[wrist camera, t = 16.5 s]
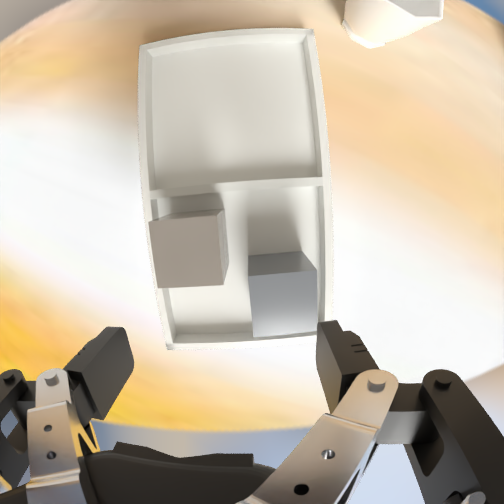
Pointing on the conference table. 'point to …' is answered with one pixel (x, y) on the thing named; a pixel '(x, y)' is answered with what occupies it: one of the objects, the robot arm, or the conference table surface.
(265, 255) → the matte grey cube
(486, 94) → the conference table surface
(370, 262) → the conference table surface
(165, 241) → the stone
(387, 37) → the cup
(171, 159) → the divided tray
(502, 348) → the conference table surface
